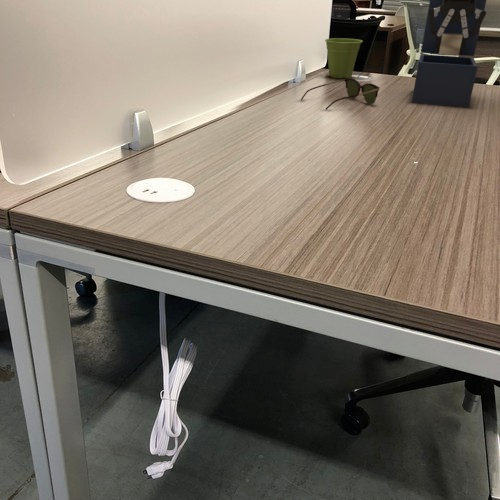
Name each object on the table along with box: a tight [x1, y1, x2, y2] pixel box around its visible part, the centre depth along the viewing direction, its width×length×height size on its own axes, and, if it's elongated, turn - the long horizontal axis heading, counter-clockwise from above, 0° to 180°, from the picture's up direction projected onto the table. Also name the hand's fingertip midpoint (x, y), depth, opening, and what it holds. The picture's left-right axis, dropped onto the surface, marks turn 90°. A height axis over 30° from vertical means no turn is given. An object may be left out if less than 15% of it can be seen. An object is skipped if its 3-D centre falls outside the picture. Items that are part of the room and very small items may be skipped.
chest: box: [411, 53, 479, 108], centre depth 135 cm, size 18×14×10 cm
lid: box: [420, 0, 487, 57], centre depth 137 cm, size 19×14×6 cm
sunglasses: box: [300, 77, 380, 110], centre depth 128 cm, size 14×15×5 cm
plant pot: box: [324, 37, 363, 80], centre depth 162 cm, size 12×12×11 cm
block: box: [438, 33, 463, 57], centre depth 130 cm, size 5×5×5 cm
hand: (448, 52), depth 131 cm, fingers closed on block, 4 cm apart
